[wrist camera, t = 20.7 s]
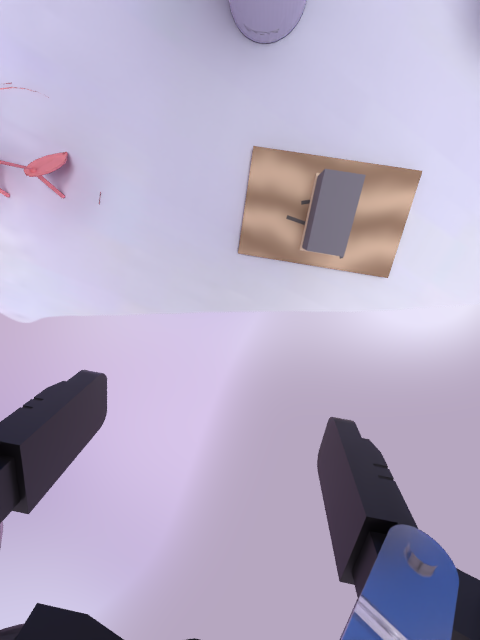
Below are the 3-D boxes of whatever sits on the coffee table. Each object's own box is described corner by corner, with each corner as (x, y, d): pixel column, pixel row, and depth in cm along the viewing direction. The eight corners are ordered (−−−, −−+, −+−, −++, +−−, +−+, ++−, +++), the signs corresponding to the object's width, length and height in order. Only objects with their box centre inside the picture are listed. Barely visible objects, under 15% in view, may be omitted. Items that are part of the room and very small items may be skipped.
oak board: (254, 148, 39) (253, 146, 38) (416, 173, 38) (422, 171, 37) (238, 252, 44) (237, 253, 42) (383, 276, 43) (387, 278, 41)
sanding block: (316, 173, 38) (324, 164, 32) (353, 179, 38) (368, 171, 32) (299, 249, 41) (304, 253, 36) (334, 255, 41) (344, 260, 35)
